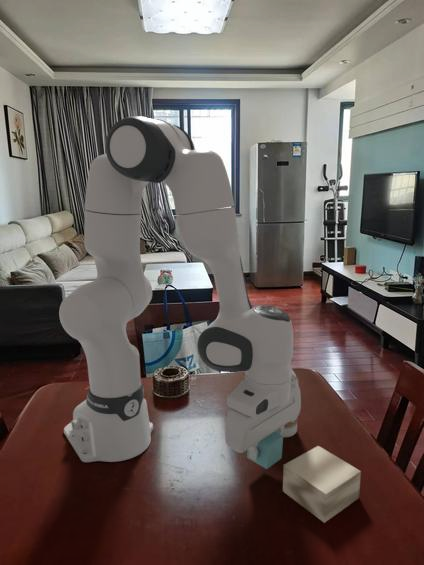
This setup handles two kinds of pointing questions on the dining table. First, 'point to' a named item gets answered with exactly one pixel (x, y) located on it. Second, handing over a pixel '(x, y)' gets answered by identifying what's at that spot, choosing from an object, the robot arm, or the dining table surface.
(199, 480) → the dining table surface
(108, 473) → the dining table surface
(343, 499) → the birch block
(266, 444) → the teal cube
